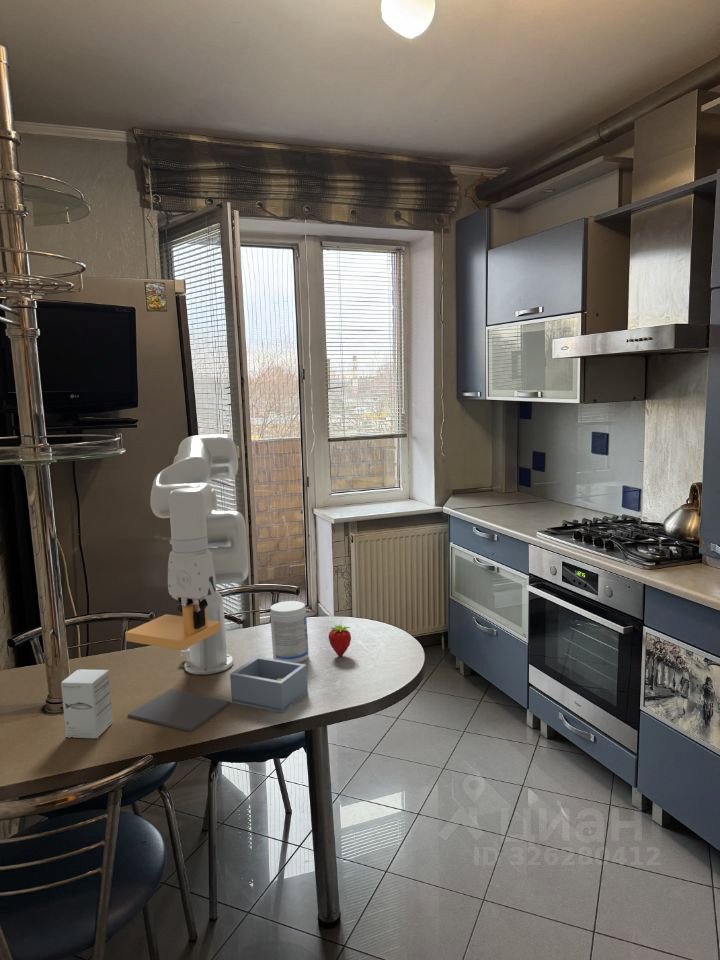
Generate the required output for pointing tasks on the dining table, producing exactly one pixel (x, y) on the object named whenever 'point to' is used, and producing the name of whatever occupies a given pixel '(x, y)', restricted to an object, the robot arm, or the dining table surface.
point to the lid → (173, 630)
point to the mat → (179, 709)
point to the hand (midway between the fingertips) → (196, 626)
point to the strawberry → (339, 639)
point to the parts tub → (269, 684)
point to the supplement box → (87, 703)
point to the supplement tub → (289, 631)
